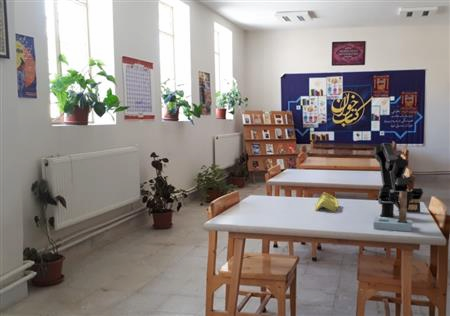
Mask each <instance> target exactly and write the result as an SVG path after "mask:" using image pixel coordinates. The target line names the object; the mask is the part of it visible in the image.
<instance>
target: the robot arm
mask: <svg viewBox="0 0 450 316" xmlns="http://www.w3.org/2000/svg"><path fill="white" fill-rule="evenodd" d="M373 155H374V157H375V160H376V161H377V162H378V163H379V168H380V175H381V176H380V177H381V183H382V187H380V188H379V192H378V198H377V199H378V200H377V201H378V202H377V203H378V204H379V205H381V213H380V217H384V218H387V217H388V218H394V217H395V215H396V214H395V213H394V211H395V210H394V209H395V208H394V207H396V208H397V209H398V210H399V209H400V204H399V195H400V192H401V191H403V192H407V209H408V208H409V202H410V201H411V200H412V199H420V200H421V198H422V197H423V194H424V190H423V189H422V188H421V187H412V191H411V190H409V187H408V186H409V185H413V183H414V182H413V181H414V180H413V177H412V176H407V177H404V175H405V174H406V170H407V168H408V165H409V161H407V160H406V159H405V158H404V157H403V156H397V155H396V153H395V150H394V149H393V144H392V143H391V142H382V143H381V144H380V145H376V146H375V147H374V149H373ZM407 190H409V191H407Z"/></svg>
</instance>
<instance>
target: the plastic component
mask: <svg viewBox="0 0 450 316" xmlns="http://www.w3.org/2000/svg"><path fill="white" fill-rule="evenodd" d="M322 207H323V208H325V209H327V210H329V211H331V212H337V211H338V208H339V200H338V198H336V197H335V196H334V195H332V194H330V193H327V192H325V191H324V192H322V194H321V195H320V197H319V198H318V200H317V202H316V204H315V207H314V210H315V211H316V212H317V211H319V209H321V208H322Z"/></svg>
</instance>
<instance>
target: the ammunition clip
mask: <svg viewBox="0 0 450 316" xmlns="http://www.w3.org/2000/svg"><path fill="white" fill-rule="evenodd" d="M412 189H413V188H412ZM412 189H410V190H409V189H406V190H407V191H412ZM397 211H398V212H399V209H398V210H397ZM407 213H421V199H412V200H411V201H410V202H409V208H408V209H407Z"/></svg>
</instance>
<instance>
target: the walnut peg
mask: <svg viewBox="0 0 450 316" xmlns="http://www.w3.org/2000/svg"><path fill="white" fill-rule="evenodd" d="M398 200H399V204H400V209H398V210H399V211H398V219H399V223H406V220H407V213H408V212H407V192H403V191H401V192H400V195H399V198H398Z"/></svg>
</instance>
